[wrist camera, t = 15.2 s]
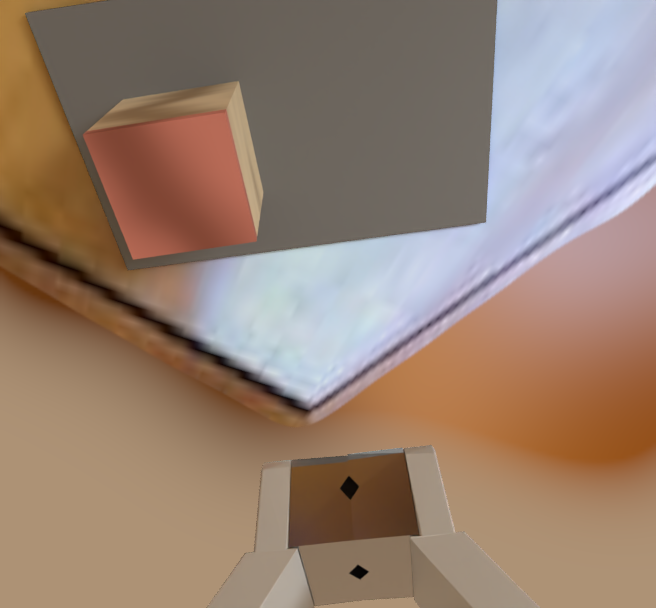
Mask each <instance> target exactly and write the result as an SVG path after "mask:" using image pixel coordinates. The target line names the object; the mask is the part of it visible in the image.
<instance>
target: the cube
mask: <svg viewBox="0 0 656 608" xmlns="http://www.w3.org/2000/svg"><path fill="white" fill-rule="evenodd" d="M83 137H84V139H85V142H86V144H87V147H88V149H89V152H90V154H91V157H92V159H93V162H94V164H95V167H96V169H97V172H98V174H99V177H100V179H101V182H102V184H103V186H104V189H105V191H106V194H107V196H108V199H109V201H110V204H111V206H112V209H113V211H114V214H115V216H116V219H117V221H118V224H119V226H120V228H121V231H122V233H123V236H124V238H125V241H126V243H127V246H128V248H129V251H130V253H131V256H132V258H133V260H134V259H141V258H148V257H154V256H161V255H168V254H175V253H182V252H189V251H195V250H202V249H209V248H216V247H223V246H229V245H236V244H243V243H250V242H256V241H257V234H258V227H259V220H260V213H261V206H262V199H263V188H262V183H261V179H260V174H259V170H258V165H257V161H256V156H255V152H254V147H253V143H252V138H251V134H250V129H249V125H248V120H247V116H246V111H245V107H244V102H243V98H242V93H241V89H240V84H239V81H236V82H229V83H223V84H217V85H211V86H204V87H198V88H192V89H186V90H179V91H173V92H167V93H160V94H154V95H148V96H142V97H135V98H129V99H123V100H122V101H120V102H119V103H118V104H117V105H116V106H115V107H114V108H112V109H111V110H110V111H109V112H108V113H107V114H106V115H104V116H103V117H102V118H101V119H100V120H99V121H98V122H97V123H95V124H94V125H93V126H92V127H91V128H90V129H89V130H87V131H86V132H85V133H84V134H83Z"/></svg>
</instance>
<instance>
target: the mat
mask: <svg viewBox="0 0 656 608" xmlns="http://www.w3.org/2000/svg"><path fill="white" fill-rule="evenodd" d="M496 14H497V0H107V1H100V2H93V3H87V4H80V5H74V6H67V7H60V8H54V9H47V10H41V11H34V12H28V13H25V15H26V17H27V20H28V22H29V25H30V27H31V30H32V32H33V35H34V37H35V40H36V42H37V45H38V47H39V50H40V52H41V55H42V57H43V60H44V62H45V65H46V67H47V70H48V72H49V75H50V77H51V80H52V82H53V85H54V87H55V90H56V92H57V95H58V97H59V100H60V102H61V105H62V107H63V110H64V112H65V115H66V117H67V120H68V122H69V125H70V127H71V130H72V132H73V135H74V137H75V140H76V142H77V145H78V147H79V150H80V152H81V155H82V157H83V160H84V162H85V164H86V167H87V169H88V172H89V174H90V177H91V179H92V182H93V184H94V187H95V189H96V192H97V194H98V197H99V199H100V202H101V204H102V207H103V209H104V212H105V214H106V217H107V219H108V222H109V224H110V227H111V229H112V232H113V234H114V237H115V239H116V242H117V244H118V247H119V249H120V252H121V254H122V257H123V259H124V262H125V264H126V267H127V269H128V270H134V269H141V268H149V267H156V266H164V265H171V264H179V263H186V262H194V261H201V260H209V259H216V258H224V257H231V256H238V255H246V254H253V253H261V252H268V251H276V250H283V249H291V248H298V247H306V246H313V245H321V244H328V243H335V242H343V241H350V240H358V239H365V238H373V237H380V236H388V235H395V234H403V233H410V232H418V231H425V230H432V229H440V228H447V227H455V226H462V225H470V224H477V223H485V222H486V210H487V190H488V171H489V151H490V132H491V112H492V92H493V73H494V53H495V33H496ZM236 81H239V84H240V89H241V93H242V98H243V102H244V107H245V111H246V116H247V120H248V125H249V129H250V134H251V138H252V143H253V147H254V152H255V156H256V161H257V165H258V170H259V174H260V179H261V183H262V188H263V199H262V206H261V213H260V220H259V227H258V234H257V241H256V242H250V243H243V244H236V245H229V246H223V247H216V248H209V249H202V250H195V251H189V252H182V253H175V254H168V255H161V256H154V257H148V258H141V259H134V260H133V258H132V256H131V253H130V251H129V248H128V246H127V243H126V241H125V238H124V236H123V233H122V231H121V228H120V226H119V224H118V221H117V219H116V216H115V214H114V211H113V209H112V206H111V204H110V201H109V199H108V196H107V194H106V191H105V189H104V186H103V184H102V182H101V179H100V177H99V174H98V172H97V169H96V167H95V164H94V162H93V159H92V157H91V154H90V152H89V149H88V147H87V144H86V142H85V139H84V137H83V134H84V133H85V132H86V131H87V130H89V129H90V128H91V127H92V126H93V125H94V124H95V123H97V122H98V121H99V120H100V119H101V118H102V117H103V116H104V115H106V114H107V113H108V112H109V111H110V110H111V109H112V108H114V107H115V106H116V105H117V104H118V103H119V102H120V101H122V100H123V99H129V98H135V97H142V96H148V95H154V94H160V93H167V92H173V91H179V90H186V89H192V88H198V87H204V86H211V85H217V84H223V83H229V82H236Z"/></svg>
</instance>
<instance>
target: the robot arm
mask: <svg viewBox="0 0 656 608" xmlns="http://www.w3.org/2000/svg"><path fill="white" fill-rule="evenodd" d="M257 512H258V513H257V523H256V534H255V544H254V552H249V553H245V554H244V555H243V557H242V558H241V560H240V561H239V563H238V564H237V565H236V567H235V568H234V570H233V571H232V572H231V574H230V575H229V577H228V578H227V579H226V581H225V582H224V584H223V585H222V587H221V588H220V590H219V591H218V592H217V594H216V595H215V596H214V598H213V599H212V601H211V602H210V604H209V605H208V606H207V608H314V606H320V605H328V604H336V603H345V602H353V601H361V600H375V599H389V598H405V597H414V600H415V601H416V603H417V604H418V606H419V607H420V608H540V607H539V606H538V605H537V604H536V603H535V602H534V601H533V600H532V599H531V598H530V597H529V596H528V595H527V594H526V593H525V592H524V591H523V590H522V589H521V588H520V587H519V586H518V585H517V584H516V583H515V582H514V581H513V580H512V579H511V578H510V577H509V576H508V575H507V574H506V573H505V572H504V571H503V570H502V569H501V568H500V567H499V566H498V565H497V564H496V563H495V562H494V561H493V560H492V559H491V558H490V557H489V556H488V555H487V554H486V553H485V552H484V551H483V550H482V549H481V548H480V547H479V546H478V545H477V544H476V543H475V542H474V541H473V540H472V539H471V538H470V537H469V536H468V535H467V534H466V533H465V532H455V529H454V525H453V521H452V517H451V513H450V509H449V505H448V501H447V497H446V493H445V489H444V485H443V481H442V477H441V473H440V469H439V465H438V461H437V457H436V452H435V450H434V448H433V447H432V446H431V445H429V446H420V447H412V448H404V449H402V448H397V449H388V450H380V451H372V452H363V453H355V454H348V456H336V457H324V458H311V459H298V460H287V461H277V462H267V463H264V465H263V468H262V471H261V480H260V490H259V501H258V511H257Z"/></svg>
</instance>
